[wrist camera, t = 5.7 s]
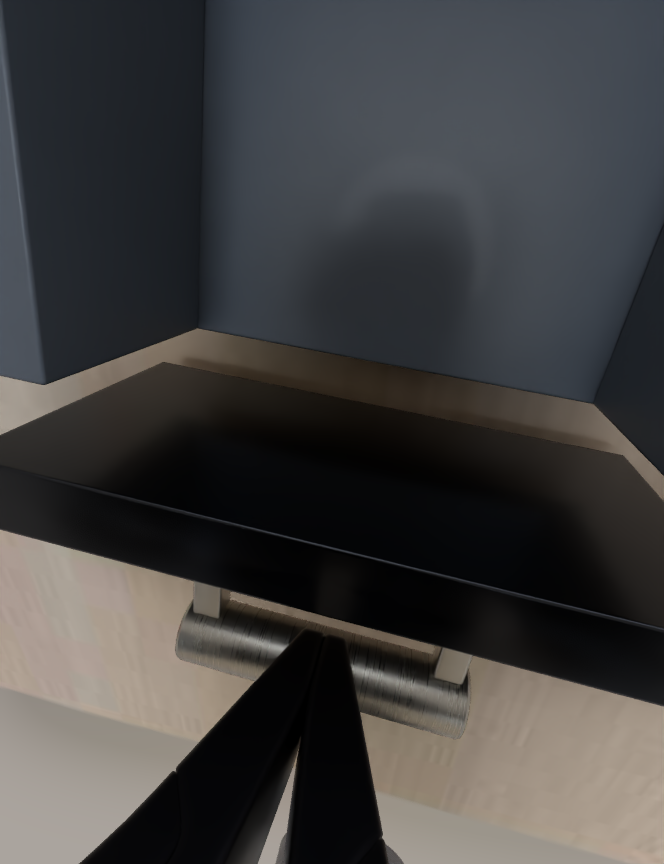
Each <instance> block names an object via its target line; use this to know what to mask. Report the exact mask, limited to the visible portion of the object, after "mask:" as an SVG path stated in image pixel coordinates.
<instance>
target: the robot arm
mask: <svg viewBox="0 0 664 864" xmlns="http://www.w3.org/2000/svg"><path fill="white" fill-rule="evenodd" d="M299 745H300V746H299ZM298 749H299V751H298ZM297 752H298V757H297V763H296V769H295V777H294V784H293V791H292V798H291V806H290V813H289V820H288V828H287V835H286V842H285V850H284V857H283V864H389V863H388V857H387V852H386V847H385V842H384V840H383V839H382V835H383V832H382V828H381V821H380V816H379V811H378V806H377V800H376V795H375V790H374V784H373V779H372V774H371V768H370V763H369V758H368V752H367V747H366V742H365V736H364V731H363V726H362V720H361V715H360V710H359V705H358V699H357V694H356V689H355V683H354V678H353V673H352V667H351V662H350V657H349V651H348V646H347V642H346V639H345V638H343V637H340V636H336V635H332V634H326V635H325V637H324V633H323V632H321V631H317V630H314V629H310V628H305V629H303V630H302V631H301V632H300V633H299V634H298V635H297V636H296V637H295V638H294V640H293V641H292V642H291V643H290V644H289V645H288V646H287V647H286V648H285V649H284V650H283V652H282V653H281V654H280V655H279V656H278V657H277V658H276V659H275V660H274V661H273V662H272V664H271V665H270V666H269V667H268V668H267V669H266V670H265V671H264V672H263V673H262V674H261V676H260V677H259V678H258V679H257V680H256V681H255V682H254V683H253V684H252V685H251V686H250V688H249V689H248V690H247V691H246V692H245V693H244V694H243V695H242V696H241V697H240V698H239V699H238V701H237V702H236V703H235V704H234V705H233V706H232V707H231V708H230V709H229V710H228V711H227V713H226V714H225V715H224V716H223V717H222V718H221V719H220V720H219V721H218V722H217V723H216V725H215V726H214V727H213V728H212V729H211V730H210V731H209V732H208V733H207V734H206V735H205V737H204V738H203V739H202V740H201V741H200V742H199V743H198V744H197V745H196V746H195V748H194V749H193V750H192V751H191V752H190V753H189V754H188V755H187V756H186V757H185V759H183V761H182V762H181V763H180V764H179V765H178V766H177V768H176V772H175V771H172V772H171V773H170V774H169V776H168V777H167V778H166V779H165V780H164V781H163V782H162V783H161V784H160V785H159V786H158V788H157V789H156V790H155V791H154V792H153V793H152V794H151V795H150V796H149V797H148V798H147V799H146V800H145V801H144V802H143V803H142V804H141V805H140V806H139V807H138V808H137V809H136V810H135V811H134V813H133V814H132V815H131V816H130V817H129V818H128V819H127V820H126V821H125V822H124V823H123V824H122V825H120V826H119V827H118V828H117V829H116V830H115V831H114V832H113V833H112V834H111V835H110V836H109V837H108V838H107V839H105V840H104V841H103V842H102V843H101V844H100V845H99V846H98V847H97V848H96V849H95V850H94V851H93V852H92V853H90V854H89V855H88V856H87V857H86V858H85V859H84V860H83V861H82V862H80V863H79V864H258V861H259V858H260V855H261V852H262V850H263V847H264V844H265V842H266V839H267V836H268V833H269V831H270V828H271V825H272V822H273V820H274V817H275V814H276V812H277V809H278V805H279V803H280V800H281V798H282V795H283V793H284V790H285V787H286V784H287V782H288V779H289V776H290V773H291V770H292V768H293V765H294V762H295V759H296V756H297Z"/></svg>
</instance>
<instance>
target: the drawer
mask: <svg viewBox="0 0 664 864" xmlns="http://www.w3.org/2000/svg"><path fill="white" fill-rule="evenodd" d="M197 328H199V329H204V330H209V331H215V332H220V333H225V334H230V335H236V336H241V337H246V338H251V339H256V340H262V341H267V342H272V343H277V344H283V345H288V346H293V347H298V348H304V349H309V350H314V351H319V352H324V353H330V354H335V355H340V356H345V357H351V358H356V359H361V360H366V361H372V362H377V363H382V364H387V365H392V366H398V367H403V368H408V369H413V370H419V371H424V372H429V373H434V374H440V375H445V376H450V377H455V378H460V379H466V380H471V381H476V382H481V383H487V384H492V385H497V386H502V387H508V388H513V389H518V390H523V391H528V392H534V393H539V394H544V395H549V396H555V397H560V398H565V399H570V400H576V401H581V402H586V403H591V404H594V405H595V406H596V407H597V408H598V409H599V410H600V411H601V412H602V413H603V414H604V415H605V416H606V417H607V418H608V419H609V420H610V421H611V422H612V423H613V424H614V425H615V426H616V427H617V429H618V430H619V431H620V432H621V433H622V434H623V435H624V436H625V437H626V438H627V439H628V440H629V441H630V442H631V443H632V444H633V445H634V446H635V447H636V448H637V449H638V450H639V451H640V452H641V453H642V454H643V455H644V456H645V457H646V458H647V459H648V460H649V461H650V462H651V463H652V464H653V465H654V466H655V467H656V468H657V470H658V471H659V472H660V473H661V474H662V475H663V476H664V0H0V376H4V377H9V378H13V379H18V380H22V381H27V382H32V383H36V384H41V385H46V384H49V383H52V382H54V381H57V380H60V379H62V378H65V377H68V376H70V375H73V374H76V373H79V372H81V371H84V370H87V369H89V368H92V367H95V366H97V365H100V364H103V363H105V362H108V361H111V360H114V359H116V358H119V357H122V356H124V355H127V354H130V353H132V352H135V351H138V350H140V349H143V348H146V347H149V346H151V345H154V344H157V343H159V342H162V341H165V340H167V339H170V338H173V337H176V336H178V335H181V334H184V333H186V332H189V331H192V330H194V329H197ZM0 530H4V531H7V532H11V533H15V534H19V535H22V536H26V537H30V538H34V539H37V540H41V541H45V542H49V543H52V544H56V545H60V546H64V547H67V548H71V549H75V550H79V551H82V552H86V553H90V554H94V555H97V556H101V557H105V558H109V559H112V560H116V561H120V562H124V563H127V564H131V565H135V566H139V567H142V568H146V569H150V570H154V571H157V572H161V573H165V574H169V575H172V576H176V577H180V578H184V579H187V580H191V581H194V599H193V600H192V601H191V603H190V605H189V606H188V608H187V610H186V612H185V614H184V616H183V618H182V621H181V624H180V627H179V630H178V634H177V639H176V647H175V651H176V655H177V657H178V658H179V659H181V660H184V661H187V662H190V663H194V664H197V665H201V666H204V667H208V668H211V669H215V670H218V671H221V672H225V673H228V674H232V675H235V676H239V677H242V678H245V679H249V680H252V681H256V680H257V679H258V678H259V677H260V676H261V674H262V673H263V672H264V671H265V670H266V669H267V668H268V667H269V666H270V665H271V664H272V662H273V661H274V660H275V659H276V658H277V657H278V656H279V655H280V654H281V653H282V652H283V650H284V649H285V648H286V647H287V646H288V645H289V644H290V643H291V642H292V641H293V640H294V638H295V637H296V636H297V635H298V634H299V633H300V632H301V631H302V630H303V629H305V628H310V629H314V630H317V631H321V632H323V633H324V637H325V635H326V634H332V635H336V636H340V637H343V638H345V639H346V642H347V646H348V651H349V657H350V662H351V667H352V673H353V678H354V683H355V689H356V694H357V699H358V705H359V710H360V712H362V713H366V714H369V715H373V716H376V717H379V718H383V719H386V720H390V721H393V722H397V723H400V724H404V725H407V726H410V727H414V728H417V729H421V730H424V731H428V732H431V733H434V734H438V735H441V736H445V737H448V738H452V739H459V738H460V737H461V736H462V734H463V732H464V730H465V727H466V724H467V720H468V715H469V708H470V699H471V679H470V673H469V669H468V668H469V665H470V662H471V660H472V657H473V656H476V657H480V658H484V659H488V660H491V661H495V662H499V663H503V664H506V665H510V666H514V667H518V668H521V669H525V670H529V671H533V672H536V673H540V674H544V675H548V676H551V677H555V678H559V679H563V680H566V681H570V682H574V683H578V684H581V685H585V686H589V687H593V688H596V689H600V690H604V691H608V692H611V693H615V694H619V695H623V696H626V697H630V698H634V699H638V700H641V701H645V702H649V703H653V704H656V705H660V706H664V501H663V500H662V499H661V498H660V497H659V495H658V494H657V493H656V492H655V491H654V490H653V489H652V488H651V486H650V485H649V484H648V483H647V482H646V481H645V480H644V478H643V477H642V476H641V475H640V474H639V473H638V472H637V470H636V469H635V468H634V467H633V466H632V465H631V464H630V463H629V461H628V460H627V459H626V458H625V457H624V456H623V455H618V454H613V453H609V452H604V451H599V450H594V449H589V448H584V447H579V446H574V445H569V444H564V443H559V442H554V441H549V440H545V439H540V438H535V437H530V436H525V435H520V434H515V433H510V432H505V431H500V430H495V429H490V428H486V427H481V426H476V425H471V424H466V423H461V422H456V421H451V420H446V419H441V418H436V417H431V416H427V415H422V414H417V413H412V412H407V411H402V410H397V409H392V408H387V407H382V406H377V405H372V404H367V403H363V402H358V401H353V400H348V399H343V398H338V397H333V396H328V395H323V394H318V393H313V392H308V391H304V390H299V389H294V388H289V387H284V386H279V385H274V384H269V383H264V382H259V381H254V380H249V379H244V378H240V377H235V376H230V375H225V374H220V373H215V372H210V371H205V370H200V369H195V368H190V367H185V366H181V365H176V364H171V363H166V362H162V363H160V364H158V365H155V366H153V367H151V368H149V369H147V370H144V371H142V372H140V373H138V374H135V375H133V376H131V377H129V378H126V379H124V380H122V381H120V382H118V383H115V384H113V385H111V386H109V387H106V388H104V389H102V390H100V391H98V392H95V393H93V394H91V395H89V396H86V397H84V398H82V399H80V400H77V401H75V402H73V403H71V404H69V405H66V406H64V407H62V408H60V409H57V410H55V411H53V412H51V413H48V414H46V415H44V416H42V417H40V418H37V419H35V420H33V421H31V422H28V423H26V424H24V425H22V426H19V427H17V428H15V429H13V430H11V431H8V432H6V433H4V434H2V435H0ZM230 591H232V592H236V593H240V594H244V595H247V596H251V597H255V598H259V599H262V600H266V601H270V602H274V603H277V604H281V605H285V606H289V607H292V608H296V609H300V610H304V611H307V612H311V613H315V614H319V615H322V616H326V617H330V618H334V619H337V620H341V621H345V622H349V623H352V624H356V625H360V626H364V627H367V628H371V629H375V630H379V631H382V632H386V633H390V634H394V635H397V636H401V637H405V638H409V639H412V640H416V641H420V642H424V643H427V644H431V645H435V648H434V651H433V654H429V653H426V652H422V651H418V650H415V649H411V648H407V647H403V646H400V645H396V644H392V643H389V642H385V641H381V640H377V639H374V638H370V637H366V636H363V635H359V634H355V633H351V632H348V631H344V630H340V629H337V628H333V627H329V626H325V625H322V624H318V623H314V622H311V621H307V620H303V619H299V618H296V617H292V616H288V615H285V614H281V613H277V612H273V611H270V610H266V609H262V608H259V607H255V606H251V605H247V604H244V603H240V602H236V601H233V600H230Z"/></svg>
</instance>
